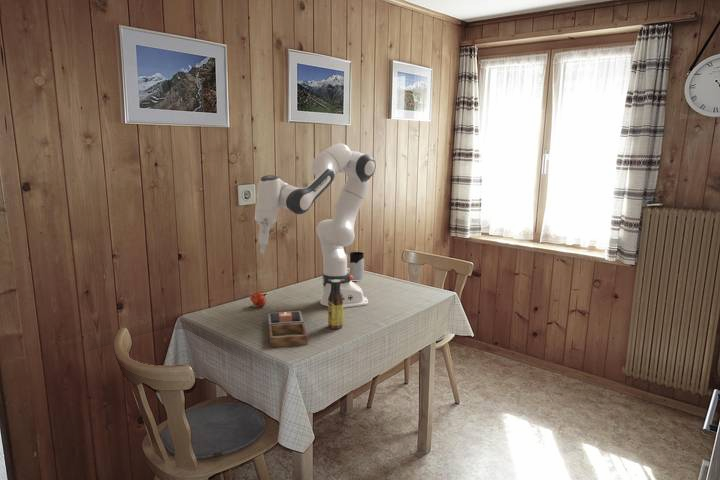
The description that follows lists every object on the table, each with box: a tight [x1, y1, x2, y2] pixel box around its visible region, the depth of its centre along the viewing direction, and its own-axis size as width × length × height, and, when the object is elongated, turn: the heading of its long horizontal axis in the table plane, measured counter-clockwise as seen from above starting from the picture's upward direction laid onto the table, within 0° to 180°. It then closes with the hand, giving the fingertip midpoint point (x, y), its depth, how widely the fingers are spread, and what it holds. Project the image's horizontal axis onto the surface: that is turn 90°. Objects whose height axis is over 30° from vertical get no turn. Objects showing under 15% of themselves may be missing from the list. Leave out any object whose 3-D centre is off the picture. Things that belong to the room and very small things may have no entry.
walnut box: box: [268, 322, 308, 348], centre depth 194 cm, size 14×14×4 cm
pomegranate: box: [249, 292, 268, 309], centre depth 231 cm, size 7×7×10 cm
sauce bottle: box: [327, 279, 344, 330], centre depth 205 cm, size 7×6×20 cm
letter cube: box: [278, 311, 293, 323], centre depth 208 cm, size 5×5×5 cm
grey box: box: [267, 310, 305, 333], centre depth 208 cm, size 14×14×4 cm
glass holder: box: [345, 251, 365, 280], centre depth 279 cm, size 9×14×15 cm, turn 59°
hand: (262, 249), depth 204 cm, fingers open, 8 cm apart
